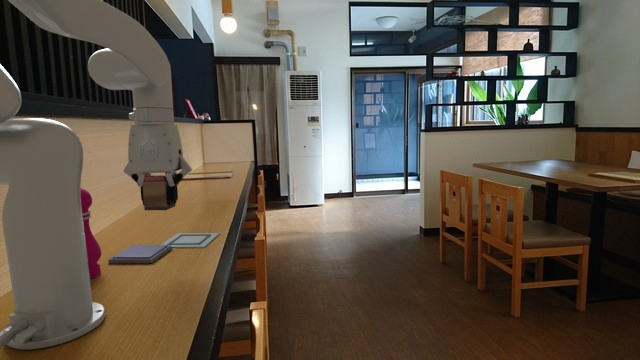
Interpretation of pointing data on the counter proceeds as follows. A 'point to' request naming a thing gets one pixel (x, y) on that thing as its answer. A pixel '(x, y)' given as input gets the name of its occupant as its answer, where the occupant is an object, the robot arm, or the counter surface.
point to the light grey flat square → (191, 240)
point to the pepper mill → (90, 236)
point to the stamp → (155, 193)
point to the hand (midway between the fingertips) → (160, 203)
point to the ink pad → (140, 254)
